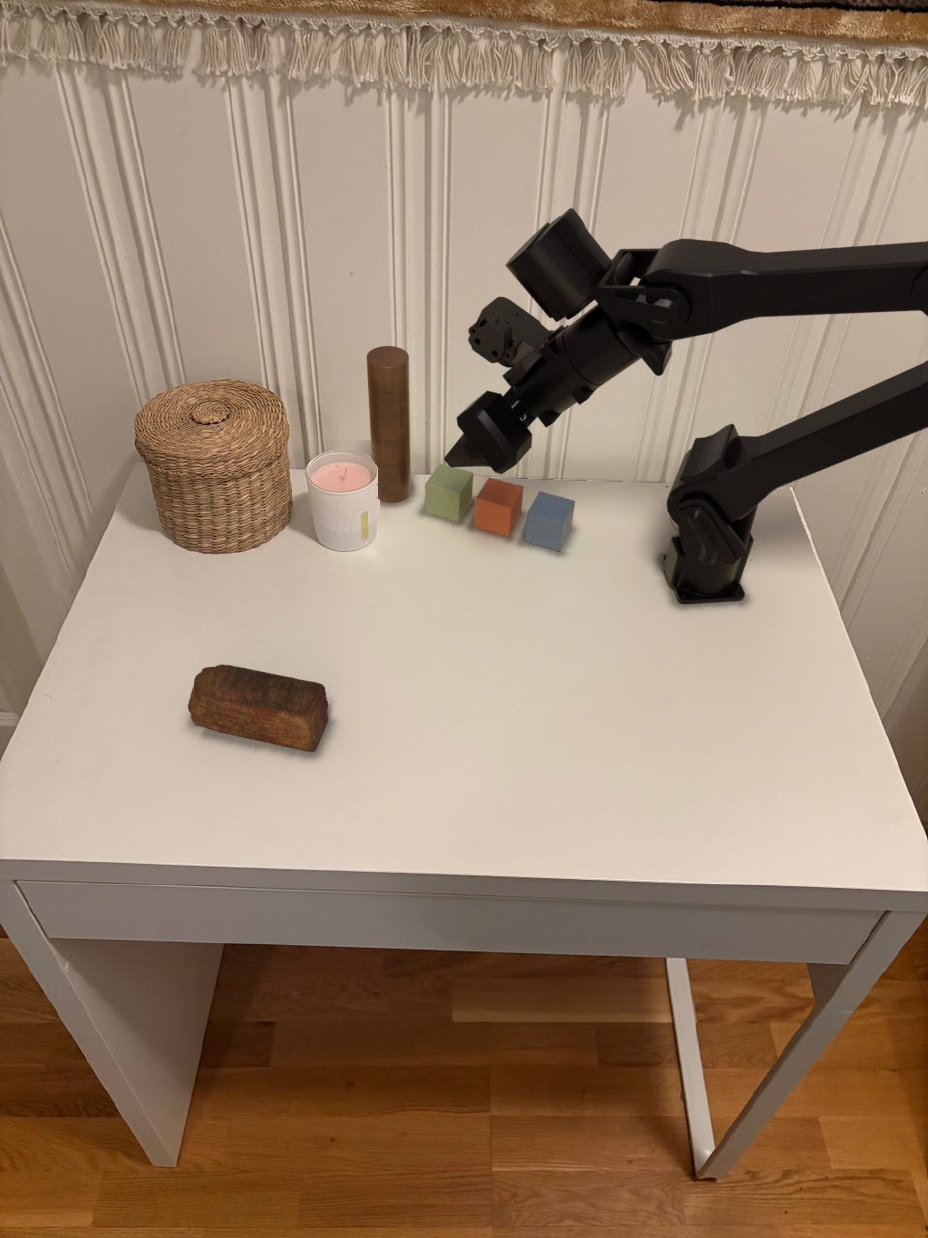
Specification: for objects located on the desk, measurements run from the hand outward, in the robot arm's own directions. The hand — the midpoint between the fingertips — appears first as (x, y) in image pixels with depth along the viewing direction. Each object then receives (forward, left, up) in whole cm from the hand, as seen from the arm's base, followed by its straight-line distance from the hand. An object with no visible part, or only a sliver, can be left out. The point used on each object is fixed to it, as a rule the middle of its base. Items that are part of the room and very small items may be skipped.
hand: (469, 440), depth 90 cm
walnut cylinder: (+7, -4, -9) cm, 13 cm away
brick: (+20, +26, -9) cm, 34 cm away
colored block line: (-3, +1, -9) cm, 10 cm away
